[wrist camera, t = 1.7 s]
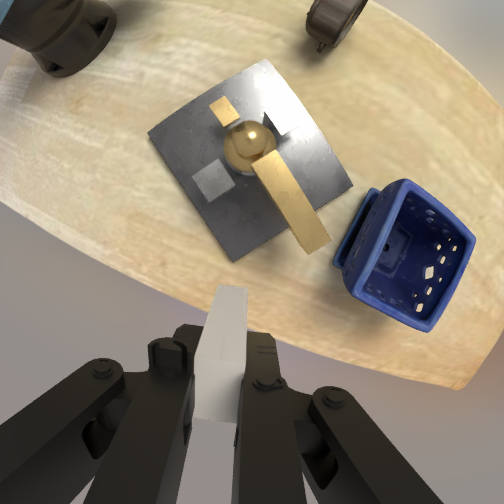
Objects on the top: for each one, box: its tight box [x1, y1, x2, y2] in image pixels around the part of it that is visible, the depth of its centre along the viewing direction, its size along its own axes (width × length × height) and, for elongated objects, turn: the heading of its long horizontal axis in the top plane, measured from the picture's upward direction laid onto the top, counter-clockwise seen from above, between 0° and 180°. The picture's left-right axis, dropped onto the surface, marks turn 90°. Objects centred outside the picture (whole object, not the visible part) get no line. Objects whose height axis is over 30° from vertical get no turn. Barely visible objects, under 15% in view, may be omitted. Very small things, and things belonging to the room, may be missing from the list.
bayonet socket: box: [147, 59, 353, 262], centre depth 29 cm, size 20×18×7 cm
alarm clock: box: [306, 0, 368, 53], centre depth 21 cm, size 11×5×16 cm, turn 148°
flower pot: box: [333, 179, 476, 333], centre depth 30 cm, size 13×13×12 cm
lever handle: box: [209, 96, 331, 255], centre depth 25 cm, size 17×5×7 cm, turn 33°
